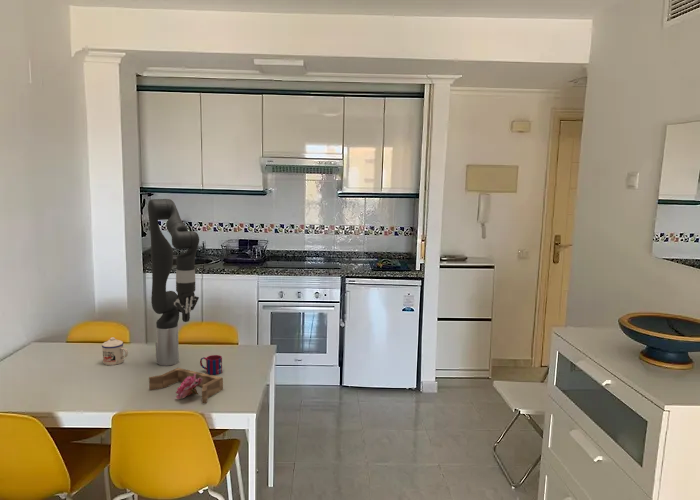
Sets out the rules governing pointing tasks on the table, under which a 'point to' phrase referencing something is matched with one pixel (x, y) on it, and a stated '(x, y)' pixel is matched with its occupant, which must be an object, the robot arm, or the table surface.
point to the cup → (213, 364)
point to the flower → (188, 387)
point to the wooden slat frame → (208, 384)
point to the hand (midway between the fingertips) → (186, 321)
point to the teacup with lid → (113, 352)
